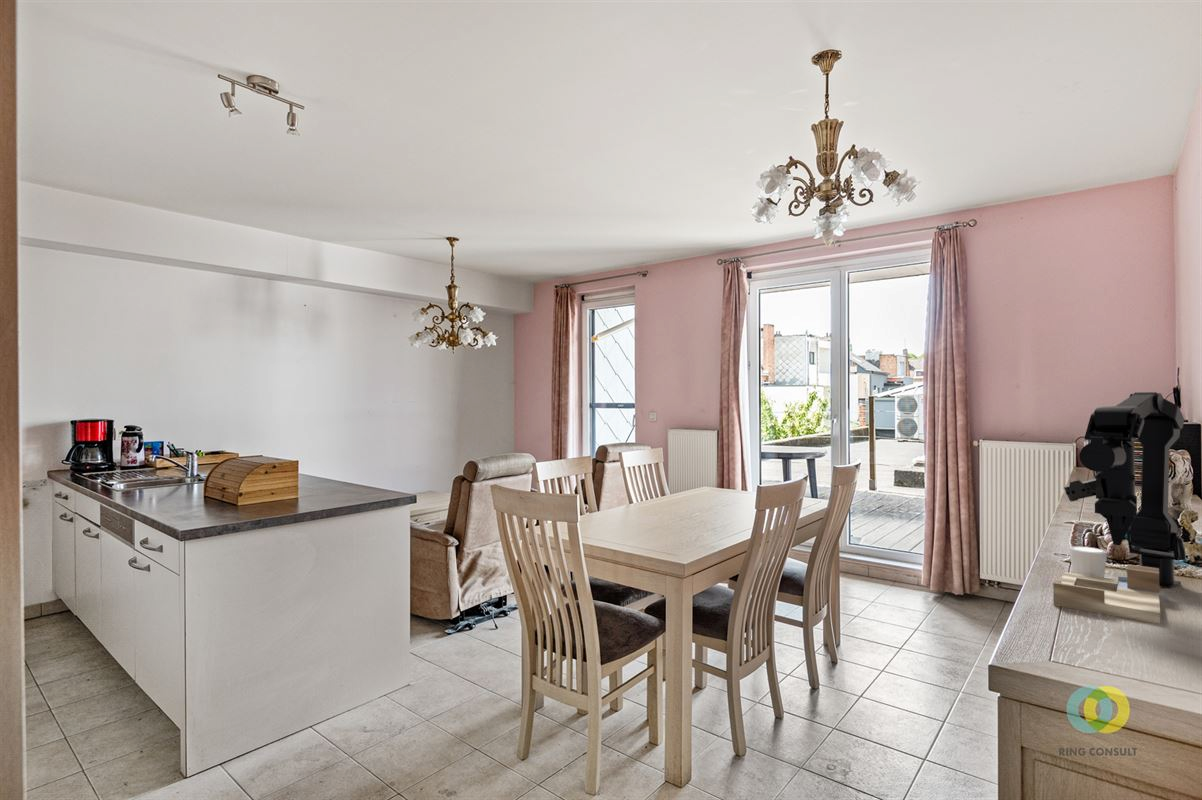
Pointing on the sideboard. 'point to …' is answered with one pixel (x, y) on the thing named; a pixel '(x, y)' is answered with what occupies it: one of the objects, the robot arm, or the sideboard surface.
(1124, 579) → the strip
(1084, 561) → the white cylinder
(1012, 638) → the sideboard surface
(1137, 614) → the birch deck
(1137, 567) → the walnut block
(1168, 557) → the robot arm
